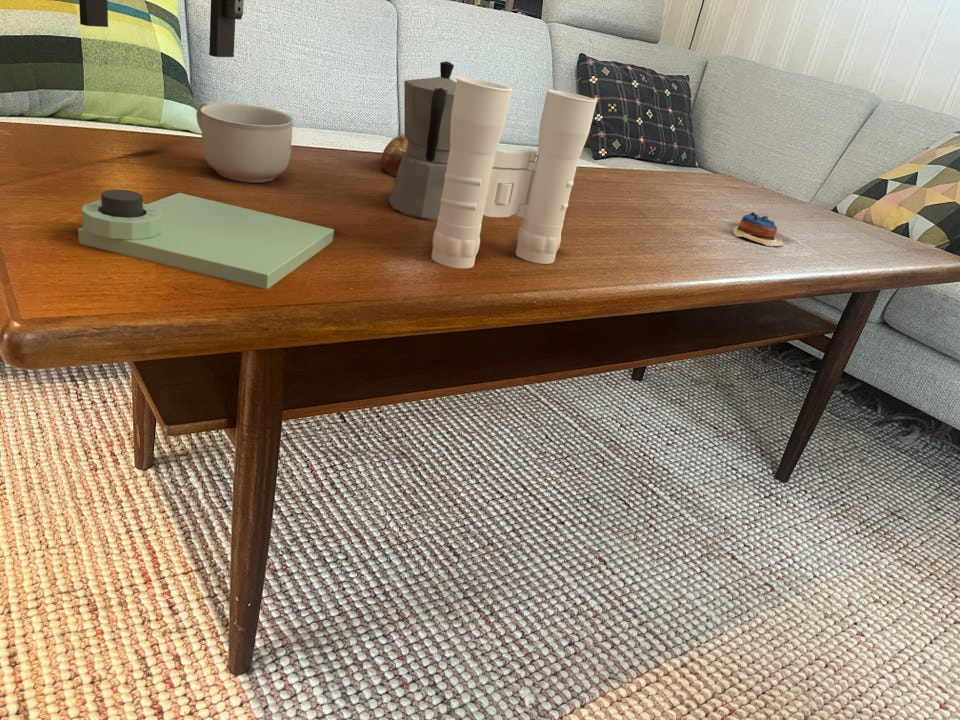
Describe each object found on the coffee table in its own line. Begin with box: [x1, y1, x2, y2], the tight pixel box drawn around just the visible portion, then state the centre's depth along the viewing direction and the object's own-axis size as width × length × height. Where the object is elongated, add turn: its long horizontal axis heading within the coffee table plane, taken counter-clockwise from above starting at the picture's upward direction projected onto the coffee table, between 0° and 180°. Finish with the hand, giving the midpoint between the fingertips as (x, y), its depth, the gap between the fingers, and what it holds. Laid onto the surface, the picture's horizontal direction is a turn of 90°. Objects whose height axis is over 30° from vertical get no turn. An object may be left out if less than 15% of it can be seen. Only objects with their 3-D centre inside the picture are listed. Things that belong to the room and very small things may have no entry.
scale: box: [77, 192, 335, 290], centre depth 68 cm, size 18×16×3 cm
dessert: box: [732, 211, 784, 247], centre depth 116 cm, size 8×7×6 cm
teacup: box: [195, 100, 294, 184], centre depth 91 cm, size 14×11×8 cm
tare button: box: [100, 189, 144, 218], centre depth 63 cm, size 3×3×2 cm
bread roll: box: [381, 133, 408, 177], centre depth 110 cm, size 10×10×8 cm
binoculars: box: [431, 77, 598, 269], centre depth 77 cm, size 17×5×18 cm, turn 127°
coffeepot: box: [388, 61, 457, 222], centre depth 89 cm, size 15×9×18 cm, turn 179°
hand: (156, 41), depth 68 cm, fingers open, 13 cm apart
